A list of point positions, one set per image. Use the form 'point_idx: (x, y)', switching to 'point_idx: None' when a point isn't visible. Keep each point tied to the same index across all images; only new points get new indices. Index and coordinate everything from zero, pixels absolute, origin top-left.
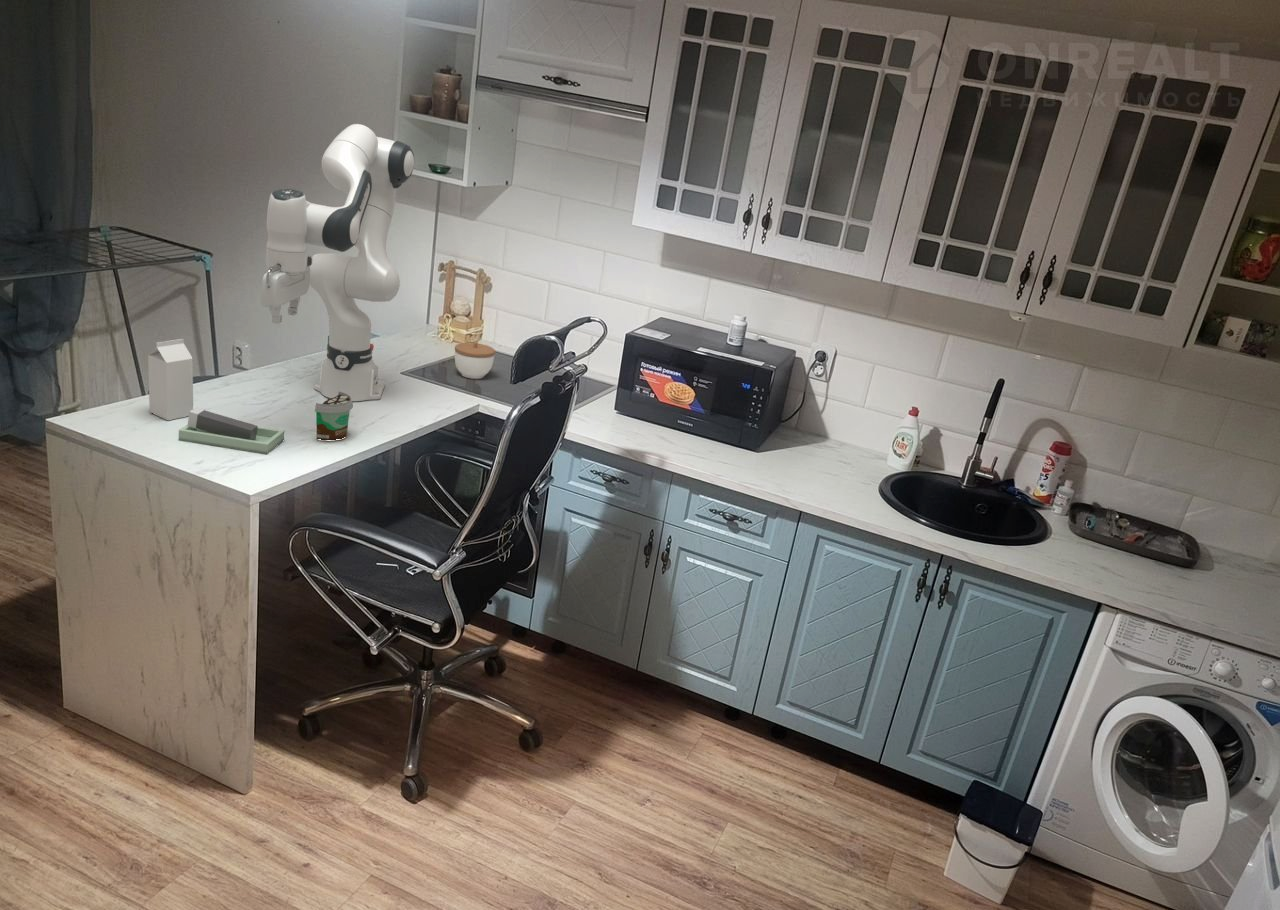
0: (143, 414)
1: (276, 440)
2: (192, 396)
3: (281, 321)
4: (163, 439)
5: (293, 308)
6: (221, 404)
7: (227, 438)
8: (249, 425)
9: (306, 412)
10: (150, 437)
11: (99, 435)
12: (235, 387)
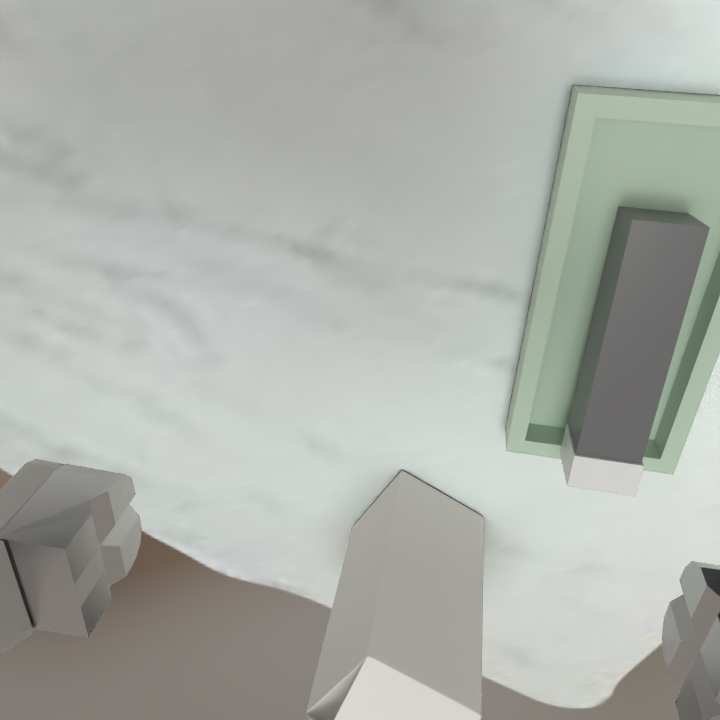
0: None
1: (682, 97)
2: (395, 521)
3: (710, 569)
4: (666, 487)
5: (72, 572)
6: (254, 423)
7: None
8: (648, 253)
9: (166, 109)
10: (654, 521)
11: None
12: (72, 427)
